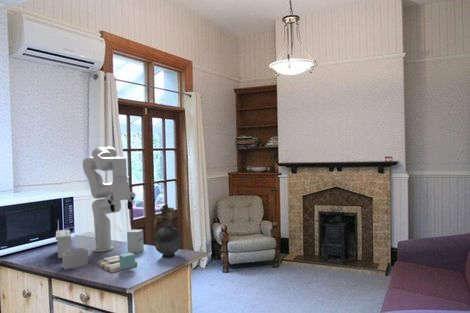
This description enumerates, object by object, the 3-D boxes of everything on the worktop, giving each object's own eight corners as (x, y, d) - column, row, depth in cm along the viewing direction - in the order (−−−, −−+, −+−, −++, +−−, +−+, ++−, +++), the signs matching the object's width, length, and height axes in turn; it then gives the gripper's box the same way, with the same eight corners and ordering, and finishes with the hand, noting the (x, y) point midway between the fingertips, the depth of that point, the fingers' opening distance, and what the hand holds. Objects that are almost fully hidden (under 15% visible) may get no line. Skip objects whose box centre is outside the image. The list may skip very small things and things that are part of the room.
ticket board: (97, 264, 198) (97, 259, 198) (122, 259, 207) (122, 253, 207) (111, 272, 185) (111, 266, 185) (137, 265, 194) (136, 260, 194)
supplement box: (138, 253, 219) (137, 232, 219) (127, 252, 220) (126, 231, 220) (144, 249, 226) (143, 229, 226) (133, 249, 227) (132, 229, 227)
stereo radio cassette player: (72, 257, 214) (70, 223, 214) (56, 259, 211) (54, 225, 211) (71, 249, 233) (69, 218, 233) (57, 251, 230) (55, 219, 229)
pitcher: (184, 253, 214) (182, 202, 213) (163, 263, 197) (161, 207, 196) (169, 251, 219) (167, 201, 218) (148, 261, 202) (145, 206, 201)
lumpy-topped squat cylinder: (91, 262, 203) (90, 247, 203) (71, 270, 191) (70, 253, 191) (77, 260, 208) (77, 245, 207) (57, 267, 196) (56, 251, 196)
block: (119, 266, 187) (119, 255, 186) (130, 263, 191) (130, 252, 190) (124, 268, 183) (123, 256, 183) (135, 265, 187) (134, 254, 187)
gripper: (131, 178, 212) (132, 207, 212) (101, 180, 200) (103, 211, 201) (137, 178, 206) (138, 208, 207) (107, 181, 195) (108, 213, 195)
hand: (121, 210), depth 204 cm, fingers open, 9 cm apart
